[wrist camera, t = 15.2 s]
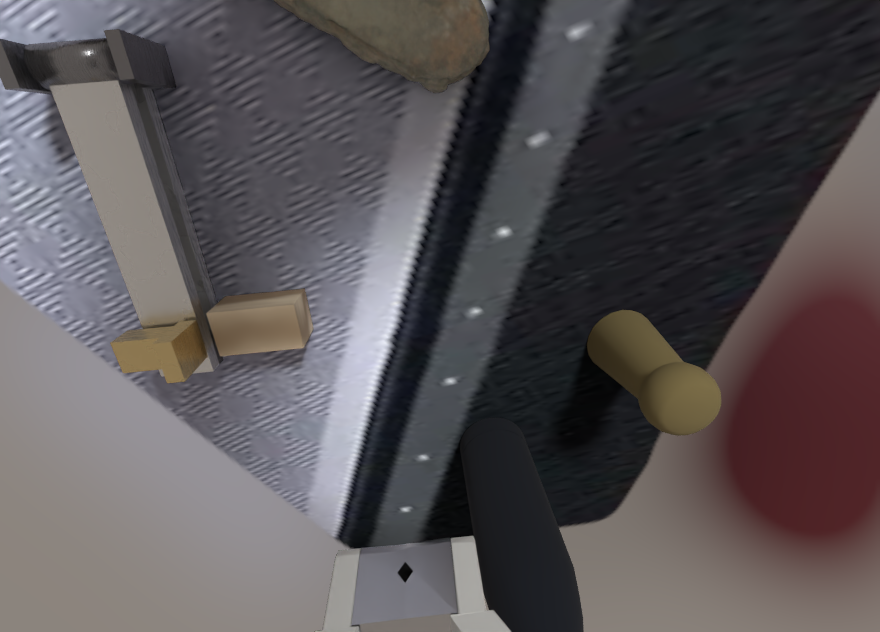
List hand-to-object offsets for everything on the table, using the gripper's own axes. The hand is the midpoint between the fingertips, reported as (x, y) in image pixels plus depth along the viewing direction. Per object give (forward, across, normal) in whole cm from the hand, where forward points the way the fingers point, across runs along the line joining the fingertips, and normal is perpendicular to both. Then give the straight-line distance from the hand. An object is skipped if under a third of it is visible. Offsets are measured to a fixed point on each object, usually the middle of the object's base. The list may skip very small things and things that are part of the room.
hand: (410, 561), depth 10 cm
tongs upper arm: (+25, +18, -4) cm, 31 cm away
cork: (+27, -18, +10) cm, 34 cm away
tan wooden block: (+27, +12, +4) cm, 30 cm away
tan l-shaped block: (+23, +18, +4) cm, 30 cm away
